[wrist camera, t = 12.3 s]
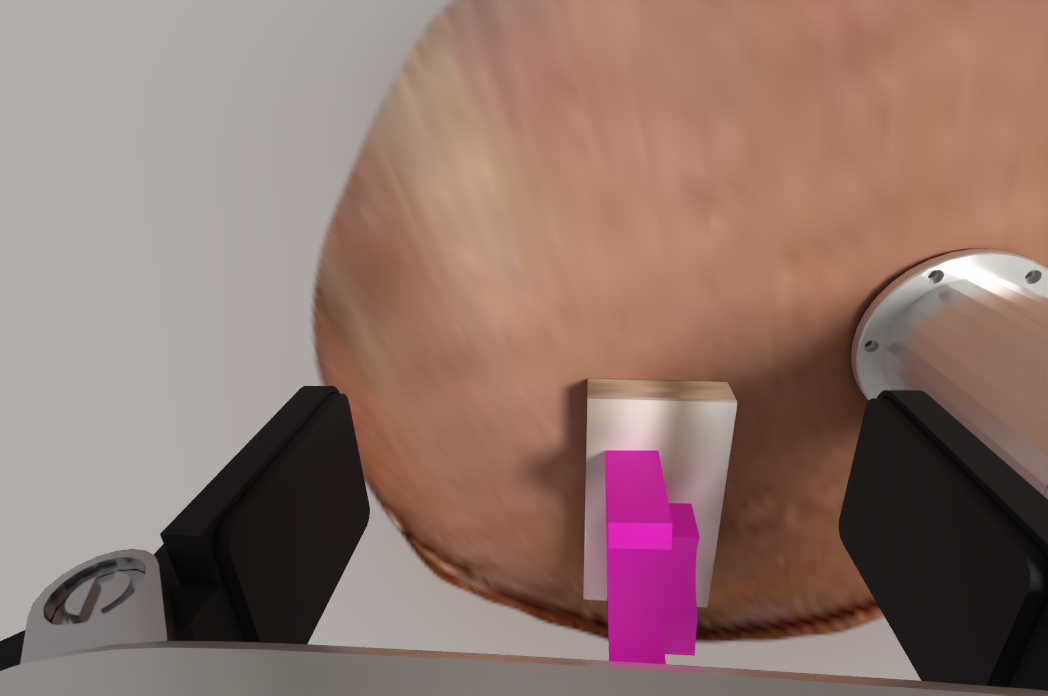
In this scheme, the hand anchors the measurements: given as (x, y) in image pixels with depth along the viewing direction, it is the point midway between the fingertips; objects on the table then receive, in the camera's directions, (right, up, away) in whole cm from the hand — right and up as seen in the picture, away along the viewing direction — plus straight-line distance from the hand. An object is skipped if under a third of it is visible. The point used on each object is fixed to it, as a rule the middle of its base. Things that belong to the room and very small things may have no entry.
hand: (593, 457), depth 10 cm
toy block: (+8, -12, +33) cm, 36 cm away
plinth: (+9, -9, +34) cm, 37 cm away
